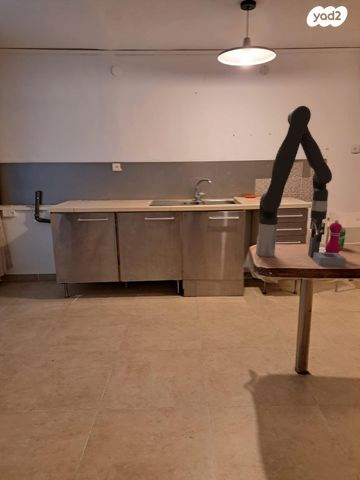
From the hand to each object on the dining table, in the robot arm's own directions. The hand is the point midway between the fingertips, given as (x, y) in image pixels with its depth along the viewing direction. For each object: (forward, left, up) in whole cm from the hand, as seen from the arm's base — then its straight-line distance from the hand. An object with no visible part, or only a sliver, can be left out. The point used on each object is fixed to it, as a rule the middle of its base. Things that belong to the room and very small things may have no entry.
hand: (315, 239), depth 164 cm
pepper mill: (+9, 0, -9) cm, 13 cm away
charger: (0, 0, -9) cm, 9 cm away
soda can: (+20, +20, -9) cm, 30 cm away
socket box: (+4, -10, -9) cm, 14 cm away
